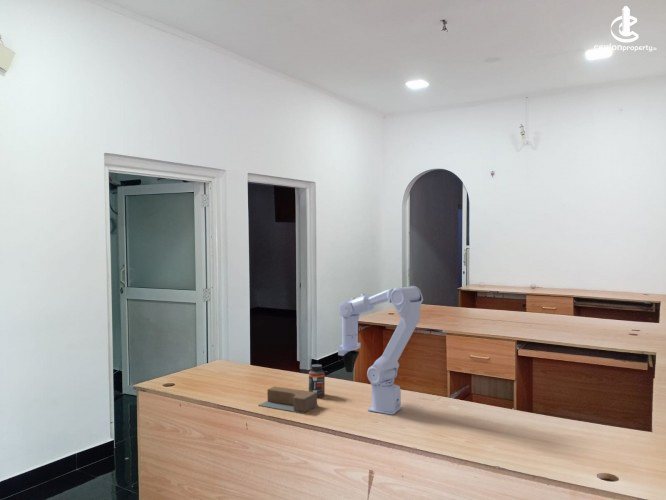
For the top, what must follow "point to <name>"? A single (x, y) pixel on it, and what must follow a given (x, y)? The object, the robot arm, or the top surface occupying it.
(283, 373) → the top surface
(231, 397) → the top surface
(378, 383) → the robot arm
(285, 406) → the mat
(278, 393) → the wooden block
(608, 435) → the top surface
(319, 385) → the supplement bottle
